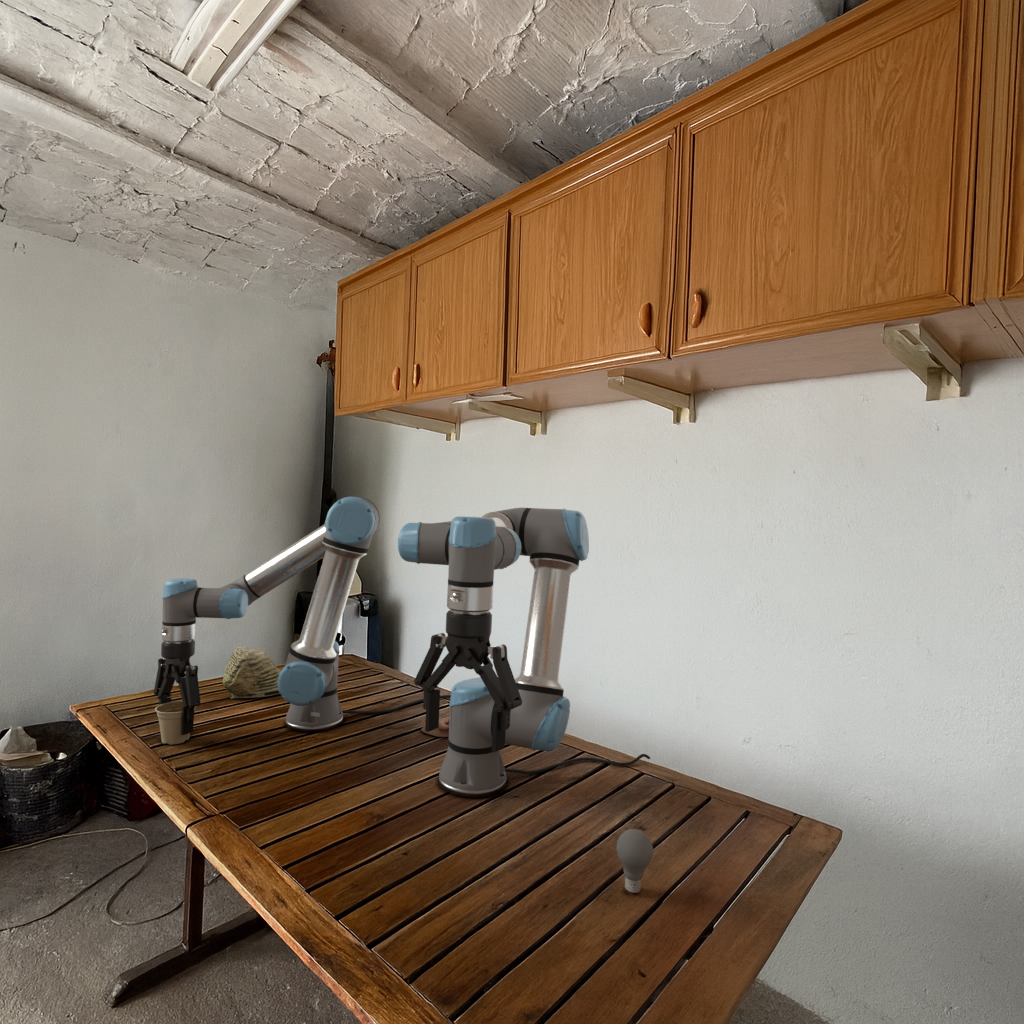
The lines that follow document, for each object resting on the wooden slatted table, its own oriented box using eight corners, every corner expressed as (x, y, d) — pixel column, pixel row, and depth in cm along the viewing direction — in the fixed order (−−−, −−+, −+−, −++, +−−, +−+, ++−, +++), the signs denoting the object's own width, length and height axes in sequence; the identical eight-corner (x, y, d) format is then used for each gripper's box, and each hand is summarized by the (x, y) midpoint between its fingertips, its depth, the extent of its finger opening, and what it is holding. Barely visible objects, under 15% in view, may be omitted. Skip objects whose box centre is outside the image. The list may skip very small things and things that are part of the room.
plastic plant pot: (146, 741, 159) (147, 707, 158) (182, 730, 166) (183, 698, 166) (167, 750, 154) (168, 715, 153) (203, 739, 161) (204, 705, 161)
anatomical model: (417, 719, 171) (431, 706, 182) (417, 734, 171) (430, 720, 182) (465, 725, 168) (476, 711, 179) (464, 740, 168) (475, 725, 179)
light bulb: (610, 879, 108) (613, 822, 108) (644, 879, 109) (647, 822, 109) (619, 902, 102) (622, 840, 102) (655, 901, 103) (658, 840, 103)
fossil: (218, 695, 195) (220, 647, 195) (278, 685, 208) (279, 640, 207) (228, 703, 189) (230, 653, 188) (289, 692, 201) (290, 645, 201)
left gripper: (139, 636, 162) (137, 723, 163) (189, 650, 150) (186, 743, 151) (168, 631, 169) (166, 715, 169) (218, 644, 157) (215, 734, 157)
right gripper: (396, 603, 107) (391, 727, 108) (522, 624, 94) (516, 765, 95) (425, 598, 114) (420, 716, 114) (546, 617, 101) (540, 750, 101)
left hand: (175, 728), depth 160 cm, fingers closed on plastic plant pot, 9 cm apart
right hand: (463, 738), depth 104 cm, fingers open, 13 cm apart
